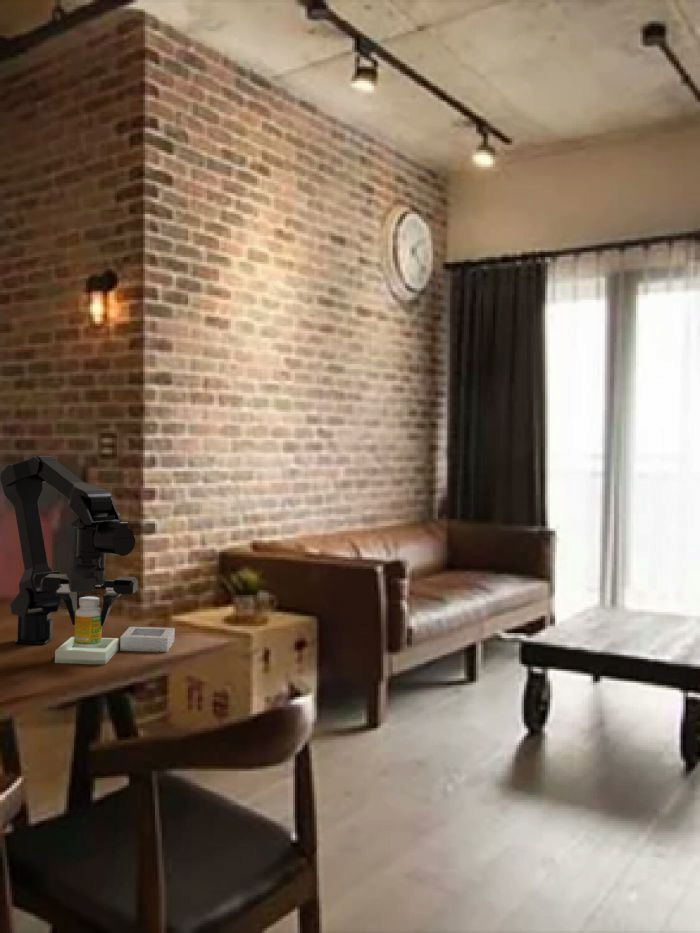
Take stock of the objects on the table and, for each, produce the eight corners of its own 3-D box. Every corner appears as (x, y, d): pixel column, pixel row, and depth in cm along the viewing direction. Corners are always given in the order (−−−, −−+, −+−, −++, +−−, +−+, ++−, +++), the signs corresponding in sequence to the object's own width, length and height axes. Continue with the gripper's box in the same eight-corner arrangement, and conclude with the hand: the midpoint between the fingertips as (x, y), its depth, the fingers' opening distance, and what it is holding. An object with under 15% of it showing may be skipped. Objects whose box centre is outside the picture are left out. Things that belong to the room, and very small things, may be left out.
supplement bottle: (93, 648, 177) (94, 601, 177) (69, 646, 178) (70, 599, 178) (105, 643, 182) (107, 597, 182) (82, 640, 183) (83, 595, 183)
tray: (54, 663, 174) (55, 650, 174) (70, 648, 186) (71, 636, 186) (105, 664, 175) (105, 652, 174) (118, 649, 187) (118, 638, 186)
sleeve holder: (120, 650, 186) (120, 636, 186) (129, 639, 196) (130, 626, 196) (167, 652, 187) (167, 638, 186) (174, 641, 197) (174, 628, 196)
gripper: (33, 553, 171) (30, 632, 172) (128, 557, 172) (125, 635, 173) (49, 546, 182) (47, 620, 183) (139, 550, 183) (136, 623, 184)
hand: (88, 625), depth 180 cm, fingers closed on supplement bottle, 5 cm apart
